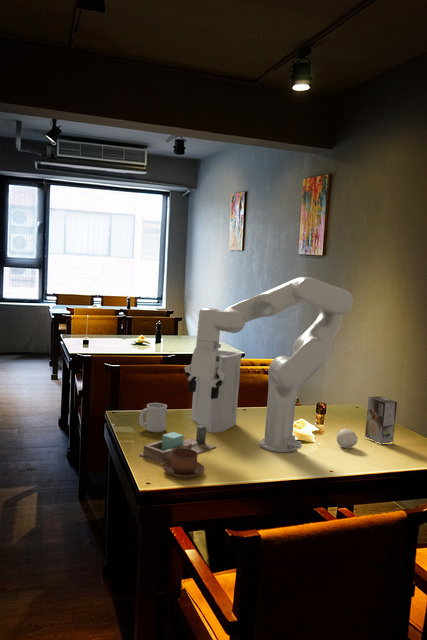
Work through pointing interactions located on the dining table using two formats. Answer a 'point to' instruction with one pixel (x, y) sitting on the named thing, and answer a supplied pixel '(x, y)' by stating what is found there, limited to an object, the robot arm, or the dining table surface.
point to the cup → (154, 417)
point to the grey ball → (346, 438)
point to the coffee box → (380, 419)
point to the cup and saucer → (184, 464)
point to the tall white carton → (223, 408)
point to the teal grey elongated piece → (177, 439)
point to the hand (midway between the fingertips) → (202, 395)
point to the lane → (171, 450)
